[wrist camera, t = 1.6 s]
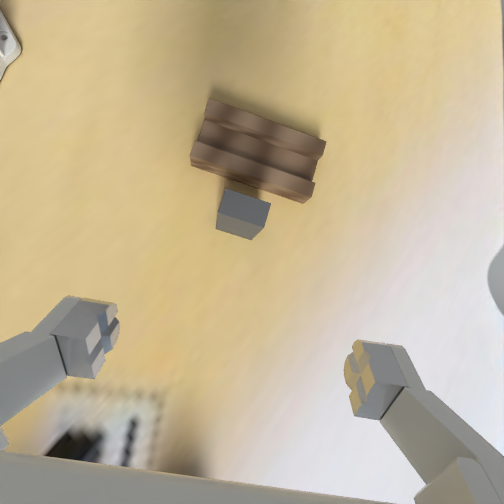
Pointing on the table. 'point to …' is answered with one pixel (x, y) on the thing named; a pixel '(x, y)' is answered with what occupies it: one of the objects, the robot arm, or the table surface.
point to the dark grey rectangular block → (241, 214)
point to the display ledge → (257, 152)
